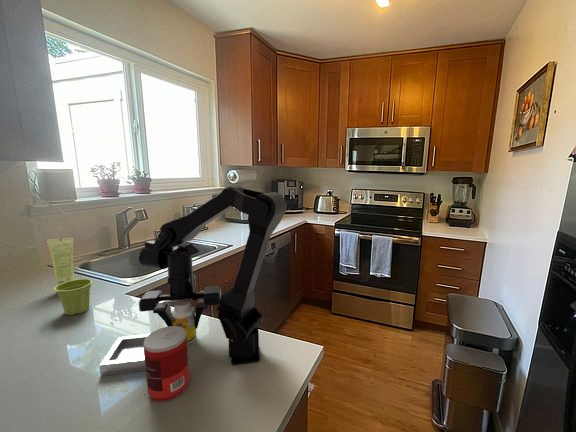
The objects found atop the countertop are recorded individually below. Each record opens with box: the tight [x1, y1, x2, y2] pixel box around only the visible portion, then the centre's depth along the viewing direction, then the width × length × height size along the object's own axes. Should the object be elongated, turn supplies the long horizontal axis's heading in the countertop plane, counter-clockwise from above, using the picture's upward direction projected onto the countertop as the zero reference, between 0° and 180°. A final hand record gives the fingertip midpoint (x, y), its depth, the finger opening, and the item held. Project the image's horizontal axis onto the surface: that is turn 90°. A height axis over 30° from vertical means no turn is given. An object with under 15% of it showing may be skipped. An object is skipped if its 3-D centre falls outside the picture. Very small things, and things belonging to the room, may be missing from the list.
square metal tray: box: [99, 333, 150, 377], centre depth 66 cm, size 11×10×3 cm
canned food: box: [143, 326, 190, 402], centre depth 56 cm, size 8×8×11 cm
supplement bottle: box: [171, 301, 197, 345], centre depth 72 cm, size 6×6×10 cm
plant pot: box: [53, 278, 93, 316], centre depth 87 cm, size 9×9×9 cm
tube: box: [46, 237, 75, 286], centre depth 102 cm, size 6×5×20 cm
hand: (184, 329), depth 72 cm, fingers closed on supplement bottle, 6 cm apart
